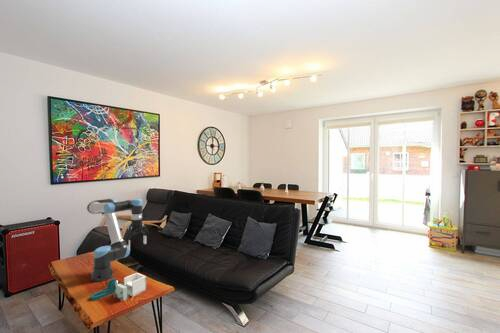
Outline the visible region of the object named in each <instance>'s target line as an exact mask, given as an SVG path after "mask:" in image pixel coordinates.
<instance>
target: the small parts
mask: <svg viewBox="0 0 500 333" xmlns="http://www.w3.org/2000/svg"><path fill="white" fill-rule="evenodd" d="M117 280H118V279H116V282H115V286H116V285H117V284H118V282H117ZM113 298H115V299H116V298H117V297H116V290H115V293H113ZM129 298H130V295H129V294H127V299H129ZM119 301H120V302H123V298H122V297H121V298H119Z"/></svg>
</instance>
